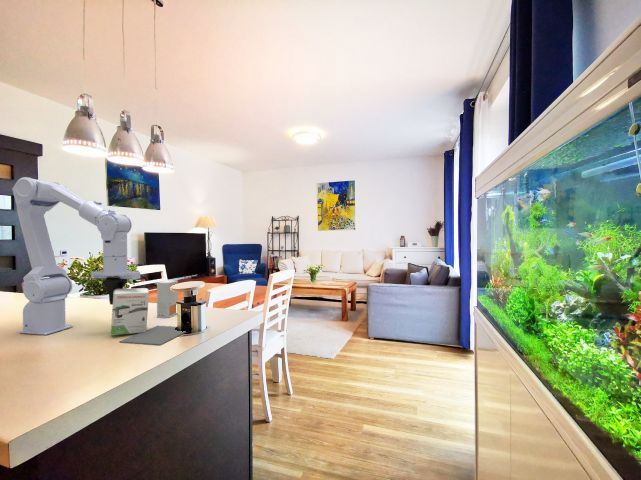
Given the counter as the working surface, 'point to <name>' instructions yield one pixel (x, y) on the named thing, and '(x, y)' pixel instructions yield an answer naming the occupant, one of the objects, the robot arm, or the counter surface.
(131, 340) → the mat
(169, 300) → the skincare box
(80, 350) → the counter surface
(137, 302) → the ink box
